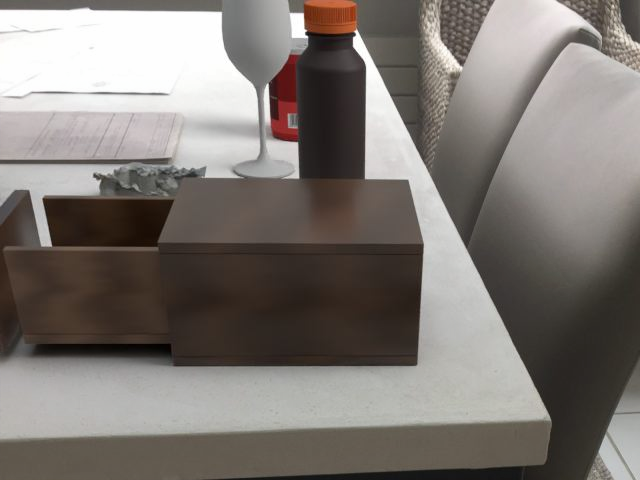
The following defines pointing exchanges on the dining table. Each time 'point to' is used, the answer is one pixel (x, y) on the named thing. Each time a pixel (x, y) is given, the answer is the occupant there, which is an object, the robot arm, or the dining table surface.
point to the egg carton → (145, 180)
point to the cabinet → (292, 272)
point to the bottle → (331, 94)
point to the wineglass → (258, 63)
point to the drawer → (83, 270)
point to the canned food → (286, 95)
